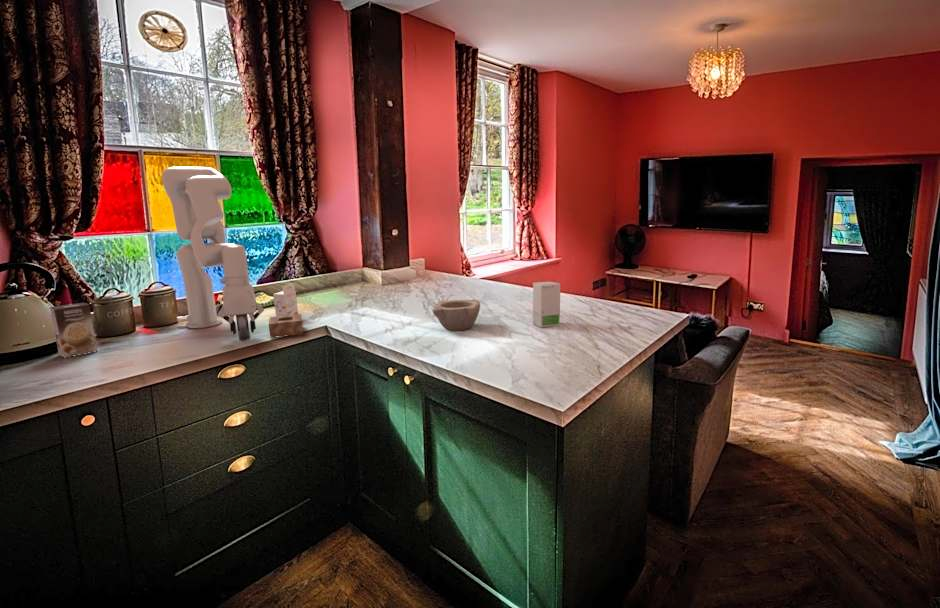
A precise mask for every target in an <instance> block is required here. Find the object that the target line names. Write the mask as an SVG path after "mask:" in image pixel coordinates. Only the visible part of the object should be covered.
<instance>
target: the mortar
mask: <svg viewBox="0 0 940 608" xmlns="http://www.w3.org/2000/svg"><path fill="white" fill-rule="evenodd" d="M480 310H481V302H480V300H478V299H450V300H439V301H438V302H437V303H435V304H434V305H433V309H432V313H433V315H434V316H435V318H437V320H438V321H439V323H440V325H441V326H442V327H443V328H445V330H449V331H466V330H469V329H471V328H472V327H473V326H474V324H475V322H476V320H477V319H478V316H479V313H480Z"/></svg>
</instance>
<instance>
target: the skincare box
mask: <svg viewBox="0 0 940 608" xmlns="http://www.w3.org/2000/svg"><path fill="white" fill-rule="evenodd" d="M560 316H561V283H560V282H555V281H554V282H553V281H542V282H541V281H540V282H539V281H538V282H533V283H532V324H533V325H534V326H536V327H538V328H542V329H543V328H549V327H556V326H557V327H559V326H561V325H560V324H561V323H560V322H561V321H560V319H561V317H560Z"/></svg>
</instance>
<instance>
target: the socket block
mask: <svg viewBox="0 0 940 608" xmlns="http://www.w3.org/2000/svg"><path fill="white" fill-rule="evenodd" d="M268 330H269V338H270V337H273V338H277V337H276V336H282V337H286V336H285V335H291V336H298V335H304V328H303V317H302V314H301V313H298V314H297V315H286V316H276V315H275V316H270V317H269V320H268Z"/></svg>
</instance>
